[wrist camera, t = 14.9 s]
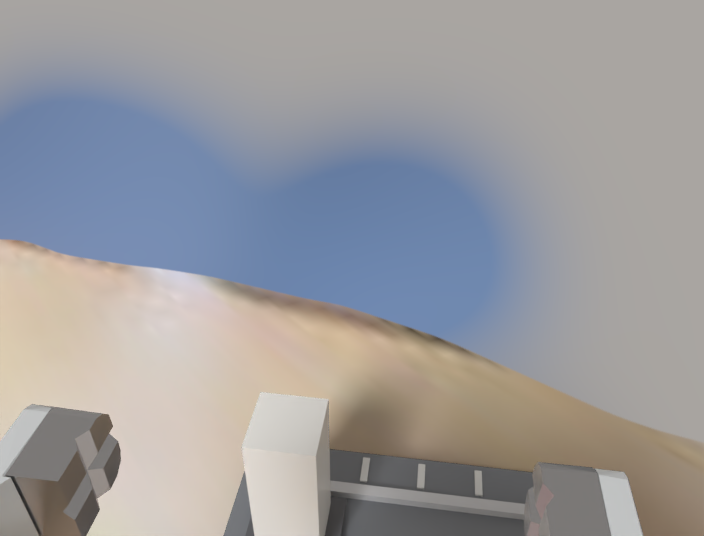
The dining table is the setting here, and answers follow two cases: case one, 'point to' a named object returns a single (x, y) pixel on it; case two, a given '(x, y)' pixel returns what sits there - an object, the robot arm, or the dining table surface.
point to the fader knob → (290, 468)
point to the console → (415, 497)
